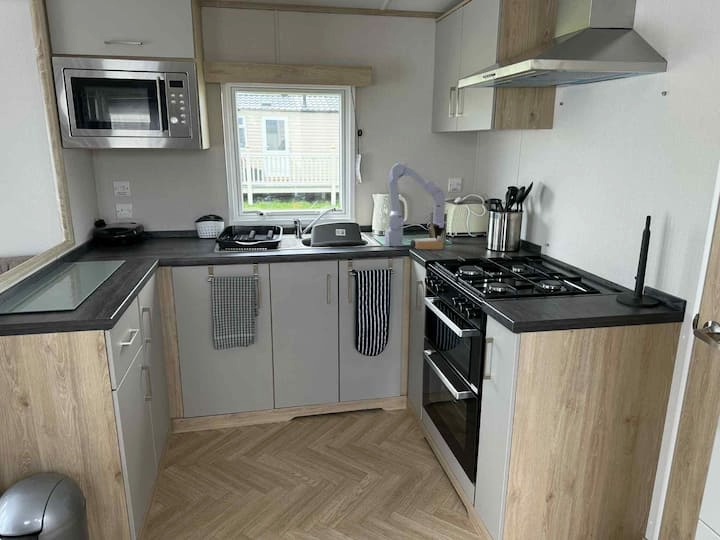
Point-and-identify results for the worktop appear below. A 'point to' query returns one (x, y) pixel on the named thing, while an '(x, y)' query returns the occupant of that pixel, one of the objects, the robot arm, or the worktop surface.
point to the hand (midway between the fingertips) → (437, 239)
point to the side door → (431, 244)
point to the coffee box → (443, 234)
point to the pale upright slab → (415, 241)
